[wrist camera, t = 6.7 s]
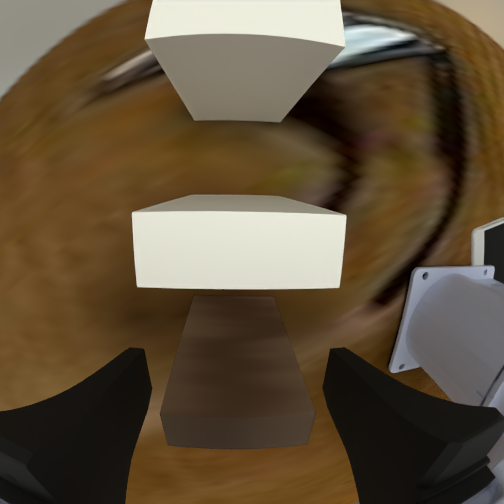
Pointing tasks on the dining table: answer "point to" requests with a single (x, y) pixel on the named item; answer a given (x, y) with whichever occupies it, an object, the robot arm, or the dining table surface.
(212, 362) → the walnut domino
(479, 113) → the dining table surface
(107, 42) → the dining table surface
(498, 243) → the smartphone
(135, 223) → the ivory domino
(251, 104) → the ivory domino
